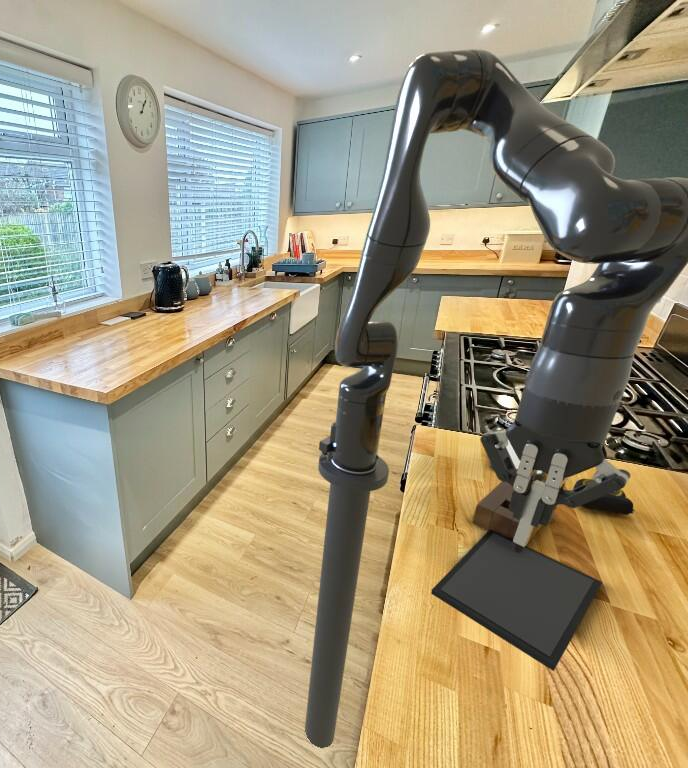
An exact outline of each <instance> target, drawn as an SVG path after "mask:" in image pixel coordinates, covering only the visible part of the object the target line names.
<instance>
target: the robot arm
mask: <svg viewBox="0 0 688 768" xmlns="http://www.w3.org/2000/svg"><path fill="white" fill-rule="evenodd" d="M396 97H397V98H396V101H395V106H394V111H393V116H392V121H391V127H390V133H389V138H388V143H387V150H386V155H385V160H384V166H383V171H382V176H381V181H380V184H379V188H378V192H377V196H376V199H375V204H374V208H373V211H372V215H371V218H370V221H369V225H368V227H367V231H366V234H365V239H364V242H363V247H362V251H361V254H360V261H359V264H358V268H357V271H356V276H355V280H354V283H353V287H352V290H351V293H350V297H349V299H348V301H347V305H346V307H345V310H344V312H343V315H342V318H341V321H340V324H339V326H338V328H337V329H338V330H337V333H336V336H335V342H334V356H335V360H336V361H337V363H338V364H339V365H341V366H342V367H346V368H361V369H360V370H358V371H356V372H355V373H353V374H350V375H349V376H346V377H344V378H342V380H341V381H340V382H339V386H338V396H337V405H336V406H337V407H336V415H335V421H334V422H333V423H332V424H331V425H330V434H329V436H327V437H325V438H324V439H321V440H319V442H318V443H319V445H318V450H319V451H320V452H321V454H322V453H323V455H324V456H325V455H328V461H330V462H332V464H333V466H334V467H335V468H337V469H338V470H340V471H342V472H344V473H347V474H352V475H367V474H370V473H372V472H374V471H375V469H376V461H377V460H378V458H379V457H380V456H379V455H378V451H379V445H380V438H381V432H382V425H383V419H384V412H385V405H386V399H387V394H388V391H389V390H390V386H391V383H392V378H393V373H394V368H395V364H396V360H397V353H398V348H399V334H398V331H397V328H396V326H395V325H394V323H392V322H391V321H389V320H371V319H372V317H373V315H374V314H375V312H376V311H377V309H378V308H379V307H380V306H381V304H383V302H384V301H386V300H387V298H389V297H390V296H391V295H392V294H393V293H394V292H395V291H396V290H397V289H399V287H401V286H402V285H403V284H404V283H405V282H406V281H407V280H408V279H409V277H410V276H411V275H412V274H413V273H414V271H415V270H416V268H417V267H418V265H419V262H420V260H421V257H422V254H423V251H424V248H425V246H426V243H427V241H428V238H429V234H430V232H431V231H430V230H431V218H430V217H431V216H430V211H429V208H428V205H427V201H426V197H425V195H424V191H423V187H422V183H421V165H422V161H423V156H424V151H425V147H426V145H427V141H428V139H429V136H430V134H442V133H443V134H444V133H453V132H457V131H461V130H463V131H467V132H470V133H472V134H475V135H478V136H480V137H482V138H483V139H484V140H486V141H487V142H488V143H489V151H488V153H489V154H488V155H489V158H488V159H489V162H490V167H491V170H492V172H493V173H494V175H495V176H496V178H497V179H498V180H499V181H500V182H501V183H502V185H504V186H505V187H506V188H507V189H508V190H510V191H511V192H512V193H513V194H514V195H516V197H518V198H519V199H520V200H521V201H522V202H524V203H525V204H526V205H528V206H529V207H530V209H531V211H532V215H533V217H534V219H535V221H536V222H537V225H538V227H539V229H540V231H541V233H542V235H543V237H544V239H545V241H546V242H547V244H548V245H549V246H550V247H551V248H552V249H553V250H554V251H555V252H557V253H558V254H559V255H561V256H562V257H565V258H567V259H568V260H571V261H573V262H576V263H581V264H590V265H593V264H594V265H597V266H596V268H595V270H594V271H593V273H592V274H591V275H590V277H589V278H588V279H587V280H585V281H584V282H581V283H580V284H578V285H575V286H572V287H569V288H567V289H564V290H562V291H560V292H559V293H558V294H557V295H556V296H555V298H554V299H553V301H552V303H551V306H550V307H549V312H548V315H547V317H546V322H545V325H544V328H543V332H542V335H541V338H540V342H539V345H538V347H537V350H536V351H535V354H534V356H533V358H532V359H531V363H530V366H529V369H528V371H527V372H526V375H525V378H524V379H525V382H524V386H523V390H522V393H521V397H520V400H519V404H518V408H517V410H516V414H515V418H514V421H513V422H512V423H511V424H510V425H509V426H507V428H506V429H502V430H497V429H493V428H492V429H490V430H487V432H485V433H484V434H483V435H482V436H481V437H480V443H481V444H482V448H483V449H484V451H485V453H486V455H487V456H486V457H488V460H489V463H490V462H491V464H492V467H493V469H492V470H493V471H494V473H495V475H496V477H497V479H498V480H499V481H500V482H502V481H503V482H507V483H509V484H510V485H511V486H512V487H513V489H514V491H513V494H512V497H511V501H510V504H509V511H511V512H513V517H514V518H516V519H518V520H520V519H521V518H522V515H523V512H524V509H525V506H526V503H527V501H528V498H529V495H530V491H531V487H532V485H533V483H534V482H535V480H534V479H535V476H536V473H537V471H538V470H539V471H543V472H544V474H546V475H547V476H546V478H545V482H544V483H545V488H544V491H543V495H542V497H541V499H540V500H539V501H538V503H537V506H536V509H535V512H534V515H533V518H532V521H531V524H530V525H532V526H534V527H536V528H538V527H539V526H540V525H543V526H542V527H546V526H547V525H549V524H550V522H551V521H552V520H553V518H554V515H555V512H556V510H557V508H558V505H563V506H566V507H568V508H570V509H576V508H578V507H582V506H581V505H583V504H586V503H588V502H590V501H593V500H595V499H598V498H600V497H603V496H605V495H607V494H610V493H612V492H615V491H617V490H620V489H621V490H622V489H624V488H625V487H626V485H627V483H628V482H629V480H630V479H631V475H632V474H631V473H630V472H629V471H628V470H626V469H622V468H617V467H616V466H614V465H613V464H612V463H611V462H610V461H609V460H608V459H607V456H608V452H607V450H606V447H605V442H606V439H607V437H608V435H609V431H610V430H611V427H612V424H613V421H614V419H615V417H616V414H617V411H618V408H619V406H620V404H621V401H622V398H623V396H624V394H625V391H626V388H627V386H628V383H629V381H630V378H631V373H632V367H633V361H634V358H635V354H636V352H637V349H638V347H639V345H640V343H641V339H642V337H643V334H644V331H645V328H646V326H647V324H648V320H649V317H650V314H651V312H652V311H653V309H654V308H655V307H656V305H657V304H658V303H659V301H660V300H661V299H662V298H663V297H664V296H665V295H666V294H667V292H668V291H669V290H670V289H671V287H672V286H673V285H674V283H675V281H676V280H677V279H678V277H679V276H680V275H681V274H682V272H683V271H684V269H685V268H686V266H687V265H688V178H687V177H686V178H685V177H679V176H677V177H655V178H638V179H622V178H619V177H617V176H614V175H613V172H614V170H615V165H616V159H615V156H614V153H613V151H612V150H611V149H610V148H609V147H608V146H607V145H606V144H605V143H603V142H602V141H600V140H599V139H597V138H595V137H594V136H592V134H591V135H590V134H589V133H587V132H585V131H584V130H583V129H581V128H579V127H578V126H576V125H574V124H572V123H570V122H569V121H567V120H566V119H564V118H562V117H561V116H559V115H558V114H556V113H554V112H553V111H552V110H550V109H549V108H548V107H546V106H545V105H543V103H541V102H540V101H539V100H538V99H537V98H536V97H535V96H534V95H533V94H532V93H531V92H530V91H529V90H528V89H527V88H526V87H525V86H524V84H523V83H521V82H520V80H519V79H518V77H516V76H515V74H514V73H513V72H512V71H511V70H510V69H509V68H508V66H507V65H506V64H505V63H504V62H503V61H502V60H501V59H500V58H499V57H498V56H497V55H495V54H494V53H492V52H490V51H488V50H485V49H477V48H476V49H461V50H446V51H433V52H427V53H423V54H421V55H420V56H418V57H416V59H414V61H413V62H411V64H410V65H409V67H408V69H407V71H406V72H405V74H404V77H403V79H402V81H401V84H400V87H399V90H398V94H397V96H396ZM508 440H509V442H510V444H511V446H512V448H513V450H514V451H515V453H516V455H517V457H518V459H519V460H520V464H519V467H518V470H516V468H515V465H514V463H513V461H512V459H511V457H510V455H509V452H508V450H507V448H506V446H507V445H508ZM328 452H329V454H327V453H328ZM378 456H379V457H378ZM376 459H377V460H376ZM593 468H595V469H596V470H595V473H594V474H593V475H592V479H593V481H591V482H588V483H586V484H584V485H582V486H580V487H577V488H575V489H573V488H572V489H571V490H570V489H565V486H566V484H567V481H568V480H569V478H570V477H574V476H576V475H579V474H581V473H583V472H586V471H588V470H591V469H593Z"/></svg>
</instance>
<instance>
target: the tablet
mask: <svg viewBox="0 0 688 768" xmlns="http://www.w3.org/2000/svg"><path fill="white" fill-rule="evenodd" d="M514 544H515V543H514V542H513V540H512V539H510V538H508V537H506V536H504V535H501V534H499V533H497V532H495V531H493V530H491V529H490V530H487V531H486V533H485V534H484V535H483V536H481V538H480V539H478V541H477V542H476V543H475V544H474V545H473V546H472V547H471V548H470V549H469V550H468V551H467V552H466V553H465V555H463V556H462V558H460V559H459V561H457V563H456V564H455V565H454V566H452V568H451V569H450V570H449V571H448V572H447V573H446V574H445V575H444V576H443V577H441V579H439V581H438V582H437V583H436V584H435V585H434V586H433V588H431V592H430V594H431V595H432V596H434V597H436V598H437V599H439V600H441V601H442V602H444V603H445V604H446V605H448V606H450V607H451V608H453V609H454V610H456V611H458V612H460V614H462V615H464V616H466V617H467V618H469V619H470V620H471V621H474V622H475V623H477V624H478V625H480V626H481V627H483V628H485V629H486V630H488V631H489V632H491V633H493V634H494V635H495V636H497V637H499V638H500V639H502V640H503V641H505V642H507V643H508V644H510V645H511V646H513V647H514V648H516V649H518V650H519V651H521V652H522V653H524V654H525V655H527V656H529V657H530V658H532V659H533V660H535V661H537V662H538V663H540V664H542V665H543V666H544V667H546V668H548V669H549V670H551V671H552V672H554V671H555V670H556V668H557V667H558V664H559V663H560V661H561V659H562V657H563V655H564V654H565V652H566V650H567V648H568V646H569V645H570V643H571V641H572V639H573V638H574V635H575V634H576V632H577V630H578V629H579V627H580V625H581V623H582V622H583V620H584V618H585V617H586V614H587V612H588V610H589V609H590V607H591V605H592V603H593V602H594V599H595V598H596V597H597V594H598V593H599V591H600V589H601V587H602V585H603V581H601V580H599V579H597V578H595V577H593V576H591V575H589V574H586V573H584V572H582V571H580V570H578V569H576V568H575V567H571V566H569V565H568V564H565V563H564V562H562V561H559V560H557V559H554V558H553V557H550V556H549V555H547V554H544V553H542V552H540V551H538V550H536V549H533V548H531V547H529V546H528V545H526V546H525V547H523V550H522V552H520V553H518V552H515V551H514V549H513V547H514Z"/></svg>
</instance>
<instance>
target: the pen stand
mask: <svg viewBox="0 0 688 768" xmlns="http://www.w3.org/2000/svg"><path fill="white" fill-rule="evenodd" d="M531 488H532V487H531ZM513 491H514V489H513V487H512V486H511V485H510V484H509V483H507V482H503V481H500V482H499V483H498V484H497V485H496V486H495V487H494V488H492V489H491V490H490V492H489V493H487V495H485V496H484V497H483V498H482V499H481V500H480V501H479V502H478V503H477V504H476V507H475V511H474V514H473V518H472V521H471V522H472V523H473V524H474V525H477V526H478V527H481V528H482V529H485V530H487V531H489V530H490V529H491V530H493V531H495V532H497V533H499V534H501V535H504V536H506V537H508V538H510V539H512V540H513V539H514V536H515V534H516V531H517V528H518V525H519V522H520V520H518V519H516V518H514V517H513V512H511V511H509V504H510V501H511V497H512V494H513ZM542 527H544V526H543V525H540V526H539V527H538V528H536V527H533V530H532V533H531V535H530V538H529V541H528V543H527V545H528V544H529V543H530V542H531V541H532V539H533V538H534V537H535V535H536V534H537V533H538V532H539V531H540V530H541V528H542Z"/></svg>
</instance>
